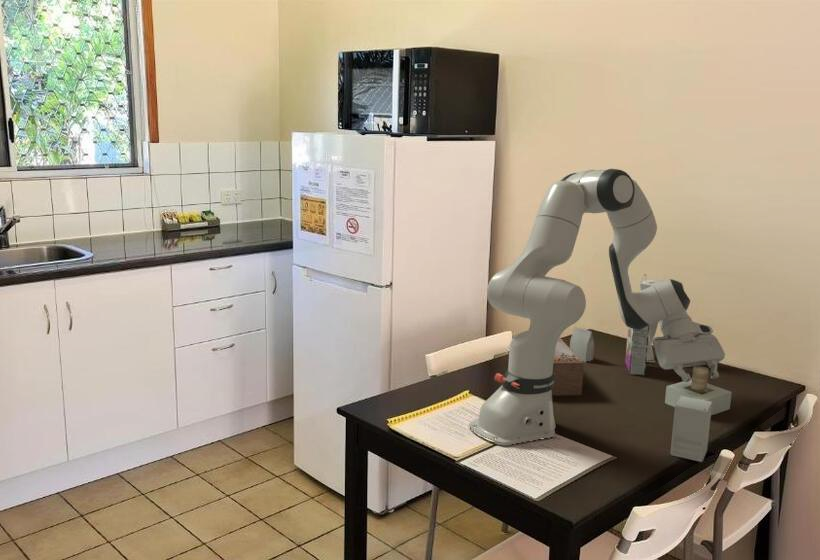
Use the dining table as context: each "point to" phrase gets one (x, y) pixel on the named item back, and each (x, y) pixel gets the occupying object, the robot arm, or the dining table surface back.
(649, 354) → the skyscraper
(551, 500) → the dining table surface
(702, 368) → the peg
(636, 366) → the candy bar box
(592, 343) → the grey bevelled box
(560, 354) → the tissue box cover
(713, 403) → the socket block
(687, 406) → the supplement box
